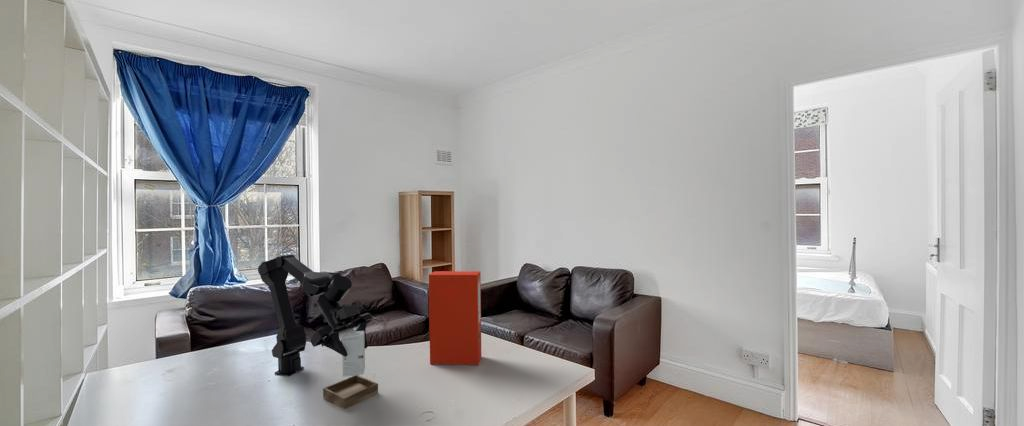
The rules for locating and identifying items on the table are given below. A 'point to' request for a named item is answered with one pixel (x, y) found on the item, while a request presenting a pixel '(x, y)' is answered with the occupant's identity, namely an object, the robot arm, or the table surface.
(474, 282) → the file binder
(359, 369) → the skincare box
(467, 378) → the table surface
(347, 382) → the shallow wooden tray
